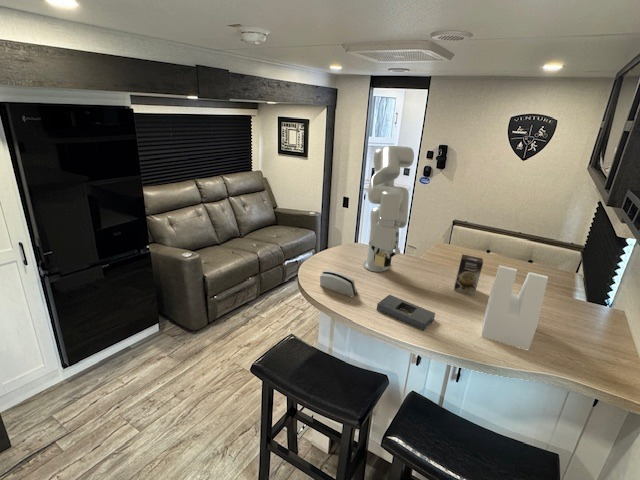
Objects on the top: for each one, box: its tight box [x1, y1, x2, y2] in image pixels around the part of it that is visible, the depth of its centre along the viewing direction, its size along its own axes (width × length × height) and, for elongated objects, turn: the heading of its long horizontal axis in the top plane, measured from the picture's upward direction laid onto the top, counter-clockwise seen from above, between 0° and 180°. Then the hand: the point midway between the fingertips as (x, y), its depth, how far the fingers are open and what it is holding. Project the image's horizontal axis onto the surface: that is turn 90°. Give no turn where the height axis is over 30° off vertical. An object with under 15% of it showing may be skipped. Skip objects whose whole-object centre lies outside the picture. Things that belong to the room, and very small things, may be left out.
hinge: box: [319, 269, 358, 298], centre depth 153 cm, size 17×5×10 cm, turn 59°
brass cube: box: [374, 251, 387, 268], centre depth 145 cm, size 4×4×4 cm
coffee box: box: [453, 253, 484, 296], centre depth 159 cm, size 9×6×16 cm
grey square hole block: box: [376, 294, 436, 332], centre depth 139 cm, size 10×20×3 cm, turn 51°
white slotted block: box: [480, 264, 549, 350], centre depth 129 cm, size 19×15×25 cm
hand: (381, 263), depth 145 cm, fingers closed on brass cube, 4 cm apart
